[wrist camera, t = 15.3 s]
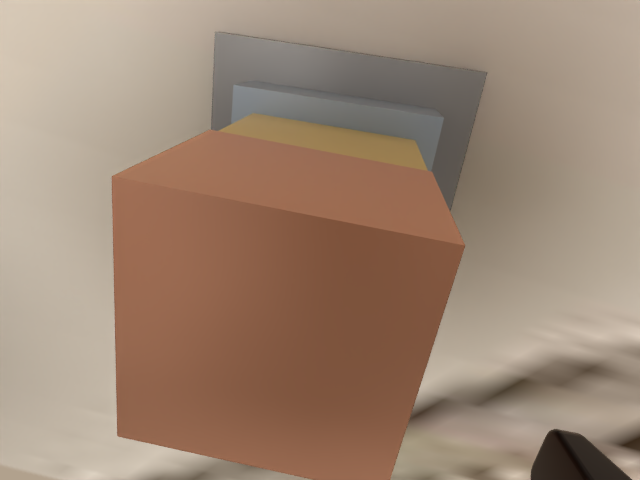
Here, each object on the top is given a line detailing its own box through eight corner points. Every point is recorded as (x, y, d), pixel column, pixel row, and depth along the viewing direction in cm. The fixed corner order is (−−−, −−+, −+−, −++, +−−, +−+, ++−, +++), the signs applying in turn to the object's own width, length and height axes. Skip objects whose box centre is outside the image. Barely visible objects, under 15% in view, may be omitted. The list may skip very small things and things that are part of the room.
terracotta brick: (198, 316, 13) (117, 436, 9) (210, 129, 11) (111, 176, 7) (382, 355, 13) (384, 495, 9) (431, 171, 11) (465, 245, 7)
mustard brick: (241, 258, 18) (199, 321, 13) (253, 113, 15) (207, 135, 11) (382, 283, 17) (383, 357, 13) (415, 139, 15) (429, 173, 11)
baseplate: (209, 264, 21) (185, 296, 19) (220, 32, 17) (190, 29, 15) (422, 303, 21) (429, 341, 18) (483, 72, 17) (504, 76, 14)
